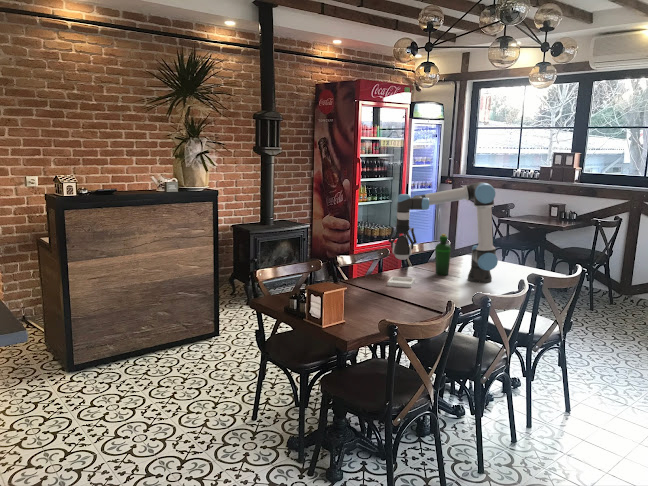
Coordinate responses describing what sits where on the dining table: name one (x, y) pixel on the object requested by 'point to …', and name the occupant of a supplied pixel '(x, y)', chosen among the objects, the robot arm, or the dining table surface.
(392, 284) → the tray
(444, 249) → the bottle
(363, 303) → the dining table surface
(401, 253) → the egg shaped speaker
